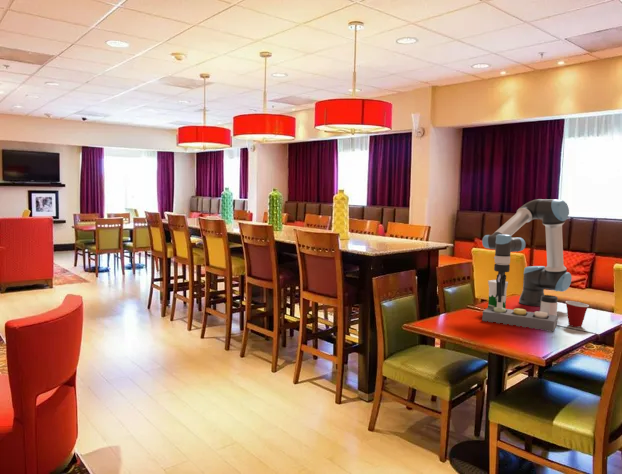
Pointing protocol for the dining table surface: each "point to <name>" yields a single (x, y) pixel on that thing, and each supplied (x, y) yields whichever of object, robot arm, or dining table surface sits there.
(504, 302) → the milk carton
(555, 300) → the jar
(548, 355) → the dining table surface
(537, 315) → the cream button
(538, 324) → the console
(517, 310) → the mustard button
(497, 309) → the sage button
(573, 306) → the plastic cup
